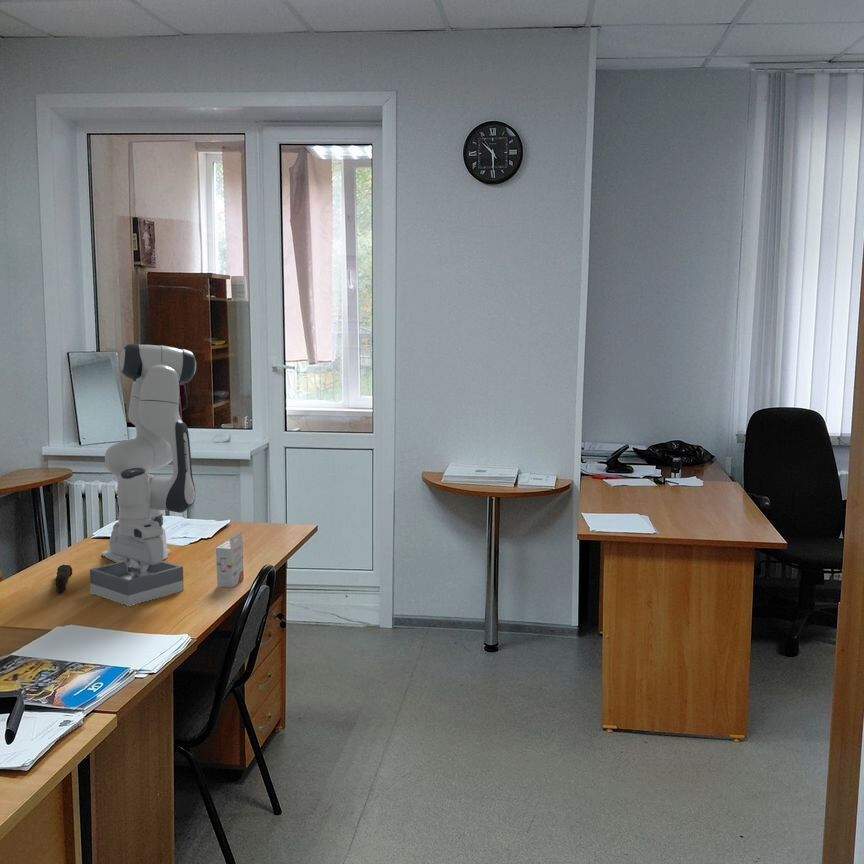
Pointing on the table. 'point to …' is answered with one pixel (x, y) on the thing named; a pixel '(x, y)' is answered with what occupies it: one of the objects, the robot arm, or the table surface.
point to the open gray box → (136, 582)
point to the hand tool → (62, 578)
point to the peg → (134, 568)
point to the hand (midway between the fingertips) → (137, 574)
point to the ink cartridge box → (230, 562)
